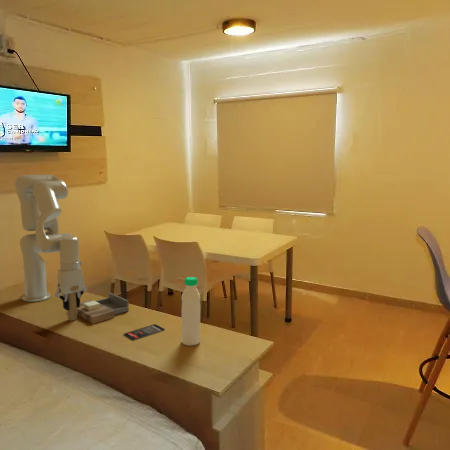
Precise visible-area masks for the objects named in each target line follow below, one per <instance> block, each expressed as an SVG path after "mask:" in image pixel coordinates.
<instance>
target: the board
mask: <svg viewBox="0 0 450 450" xmlns="http://www.w3.org/2000/svg"><path fill="white" fill-rule="evenodd" d="M91 301H94V300H93V299H87V300H83V301H80V307H79V308H77V317H80V318H81V319H84V320H85V321H86V322H88V323H91V324H92V325H94V324H96V323H97V324H98V323H101V322H105V321H107V320H110V319H115V316H114V311H113V310H111V309H109V308H107V307H105V306H103V305H101V304H100V308H98V309H94V310H90V311H89V310H87V309H85V308H84V303H87V302H91Z"/></svg>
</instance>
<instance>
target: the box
mask: <svg viewBox="0 0 450 450" xmlns="http://www.w3.org/2000/svg"><path fill="white" fill-rule="evenodd" d="M95 301H96V302H98V303H100V304H101V305H103V306H105V307H107V308H109V309H111V310H113V311H114V317H115V316H117V315H121V314H124V313H128V312H129V300H128V299H126V298H123V297H121V296H118V295H116V294H115V293H112V292H108V297H106V298H102V299H99V300H95Z"/></svg>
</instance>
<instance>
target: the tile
mask: <svg viewBox="0 0 450 450" xmlns="http://www.w3.org/2000/svg"><path fill="white" fill-rule="evenodd" d="M96 301H97V300H93V301H91V302H87V303H84V308H85V309H87V310H89V311H90V310H94V309H98V308H100V303H98V302H96Z"/></svg>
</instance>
